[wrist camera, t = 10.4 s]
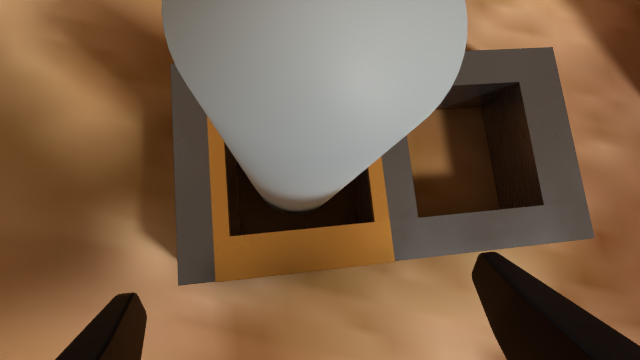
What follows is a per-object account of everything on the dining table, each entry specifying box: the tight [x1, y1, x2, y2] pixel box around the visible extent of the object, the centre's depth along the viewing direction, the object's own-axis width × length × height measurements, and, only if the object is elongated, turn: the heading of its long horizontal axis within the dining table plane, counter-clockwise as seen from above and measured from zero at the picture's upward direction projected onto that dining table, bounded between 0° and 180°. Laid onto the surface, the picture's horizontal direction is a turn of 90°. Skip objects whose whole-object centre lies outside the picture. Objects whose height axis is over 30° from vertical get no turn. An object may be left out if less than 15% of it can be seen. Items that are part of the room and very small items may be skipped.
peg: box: [162, 0, 467, 216], centre depth 11 cm, size 4×4×12 cm
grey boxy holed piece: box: [170, 47, 594, 286], centre depth 16 cm, size 9×17×3 cm, turn 96°
